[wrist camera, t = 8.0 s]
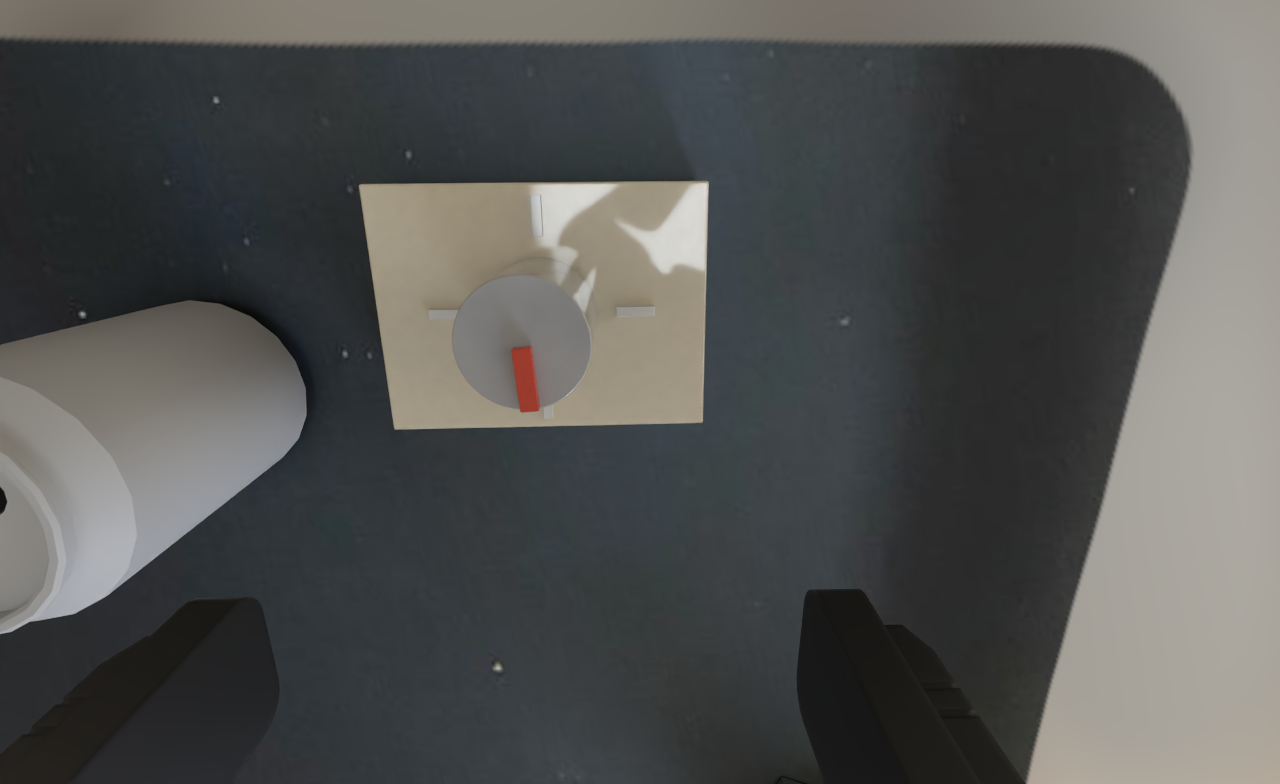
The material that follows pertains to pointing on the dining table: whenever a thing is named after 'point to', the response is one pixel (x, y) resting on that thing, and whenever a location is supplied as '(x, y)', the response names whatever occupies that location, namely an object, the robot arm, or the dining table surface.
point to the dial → (526, 334)
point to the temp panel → (554, 228)
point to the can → (130, 444)
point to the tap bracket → (788, 781)
